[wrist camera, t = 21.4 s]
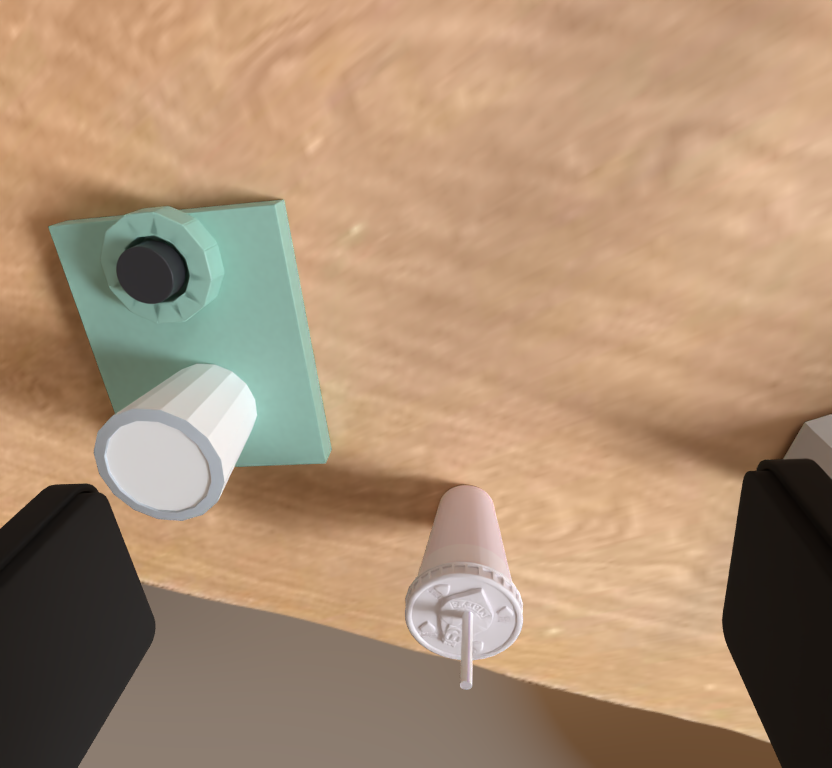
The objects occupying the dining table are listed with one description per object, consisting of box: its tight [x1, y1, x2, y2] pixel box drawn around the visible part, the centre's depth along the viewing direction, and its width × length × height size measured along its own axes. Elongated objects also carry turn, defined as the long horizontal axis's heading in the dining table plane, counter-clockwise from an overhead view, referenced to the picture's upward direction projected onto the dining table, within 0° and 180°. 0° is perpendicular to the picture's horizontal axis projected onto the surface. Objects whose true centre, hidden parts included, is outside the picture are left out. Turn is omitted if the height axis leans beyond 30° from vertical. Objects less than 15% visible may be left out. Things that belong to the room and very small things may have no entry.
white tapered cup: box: [94, 364, 257, 521], centre depth 34 cm, size 7×7×7 cm
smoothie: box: [405, 485, 523, 690], centre depth 34 cm, size 6×6×14 cm
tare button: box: [116, 240, 186, 304], centre depth 31 cm, size 3×3×2 cm
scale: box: [48, 200, 332, 467], centre depth 35 cm, size 16×13×4 cm
